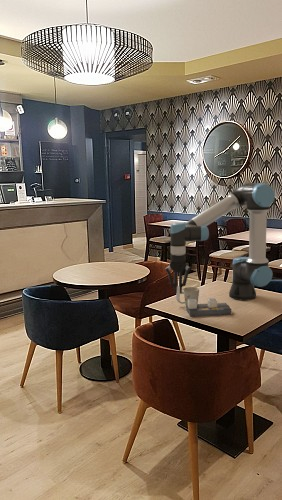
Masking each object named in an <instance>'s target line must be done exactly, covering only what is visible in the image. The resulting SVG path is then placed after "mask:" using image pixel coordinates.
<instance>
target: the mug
mask: <svg viewBox="0 0 282 500" xmlns="http://www.w3.org/2000/svg"><path fill="white" fill-rule="evenodd" d="M199 294H200V288H198V287H195V286H187V287H186V286H185V287H184V288H183V291H182V293H180V295H184V301H181V299H180V300H177V299H176V298H175V299H176V301H177V302H178V303H180V304H184V305H185V308H186V309H187V305H188V299H195V300H196V301H197V304H199V303H198V302H199Z"/></svg>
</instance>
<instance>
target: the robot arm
mask: <svg viewBox="0 0 282 500" xmlns="http://www.w3.org/2000/svg"><path fill="white" fill-rule="evenodd" d="M275 193H276V192H275V191H274V189H273V187H272V186H271V185H269V184H267V183H263V182H262V183H261V182H259V183H256V182H255V183H252V182H249V183H245V184H242V185H241V186H239V187H237V188H235V189H233V190H232V191H230V192H228V194H227V195H226V197H225V198H223V199H221V200H219V201H218V202H216V203H215V204H213V205H212V206H210V207H208V208H207V209H205V210H204V211H202V212H200V213H199V214H197V215H196V216H194V217H193V218H191V219H189V220H187V221H186V222H172V223H171V224H170V230H169V231H170V232H169V233H170V263H169V265H168V266H166V267H165V268H164V269H165V271H166V272H167V273H166V274H167V276H168V280H169V284H170V286H171V287H173V292H174V294H176V295H175V299H177V300H180V301H181V298H180V297H181V296H180V295H181V294H180V293H182V292H183V287H184V286H185V287H186V285H187V281H188V277H189V273H190V271H191V269H192V268H191V266H188V264H187V262H186V257H187V256H186V254H187V253H186V250H187V249H186V246H187V245H186V244H187V243H188V242H202V241H207V240H208V239H209V238H210V237H209V236H210V232H209V228H208V226H210V225H211V224H212V223H214V222H215V221H217V220H219V219H220V218H221V217H223V216H224V215H227V214H228V213H230V212H231V211H233V210H234V209H240V208H241V207H244V206H246V211H247V212H248V213H249V226H248V227H249V228H248V229H249V233H248V235H249V236H248V238H249V239H248V245H249V246H248V256H239V257H234V258H233V259H232V283H231V286H230V288H229V292H228V296H229V298H230V299H233V300H236V301H237V300H238V301H252V300H255V299H256V298H257V291H256V288H255V286H256V287H257V288H258V287H259V288H260V287H261V288H263V287H266V286H267V285H268V284H270V282H271V281H272V279H273V276H274V275H273V270H272V268H270V267H269V262H270V261H269V259H268V258H267V257H266V255H267V253H266V252H267V224H268V223H267V219H268V215H267V214H268V212H270V210H271V206H272V204H273V203H274V202H275V199H276V197H275V196H276V195H275ZM186 242H187V243H186ZM171 270H172V271H173V279H172V274H171ZM184 271H185V273H184V275H183V272H184ZM177 300H176V301H177Z"/></svg>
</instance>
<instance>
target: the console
mask: <svg viewBox="0 0 282 500" xmlns="http://www.w3.org/2000/svg"><path fill="white" fill-rule="evenodd" d="M186 312H187V313H188V316H189V317H190V318H193V317H194V318H196V317H211V316H213V317H214V316H215V317H216V316H232V308H231V307H230V305H229V304H228V303H227V302H217V307H216V308H209V307H208V303H198V304H197V308H195V309H189V308H188V305H187V308H186Z"/></svg>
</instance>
